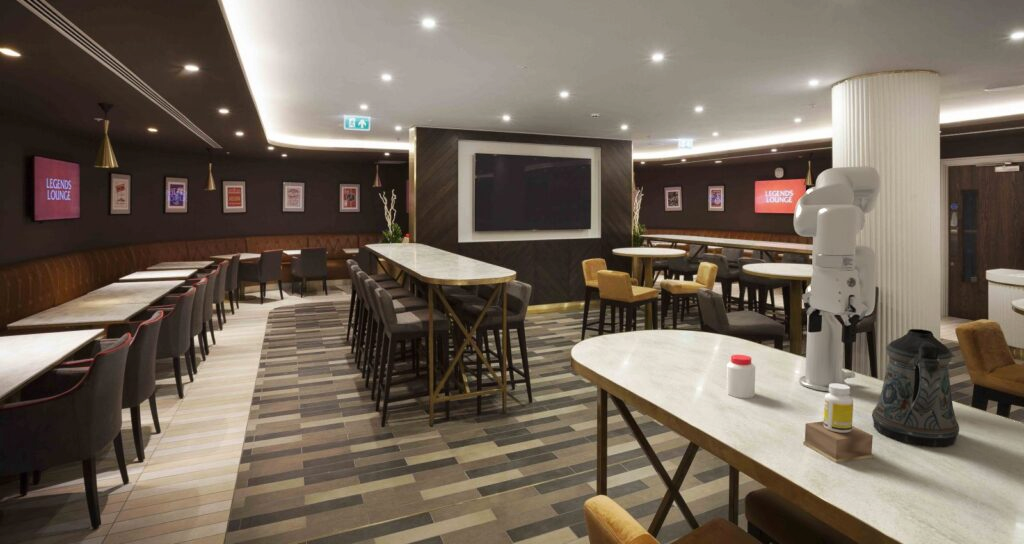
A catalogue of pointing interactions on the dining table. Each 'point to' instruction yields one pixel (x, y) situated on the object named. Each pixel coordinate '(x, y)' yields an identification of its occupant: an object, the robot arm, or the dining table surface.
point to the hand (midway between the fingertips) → (830, 336)
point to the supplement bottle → (838, 409)
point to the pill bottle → (740, 377)
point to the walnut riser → (838, 443)
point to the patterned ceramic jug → (917, 393)
